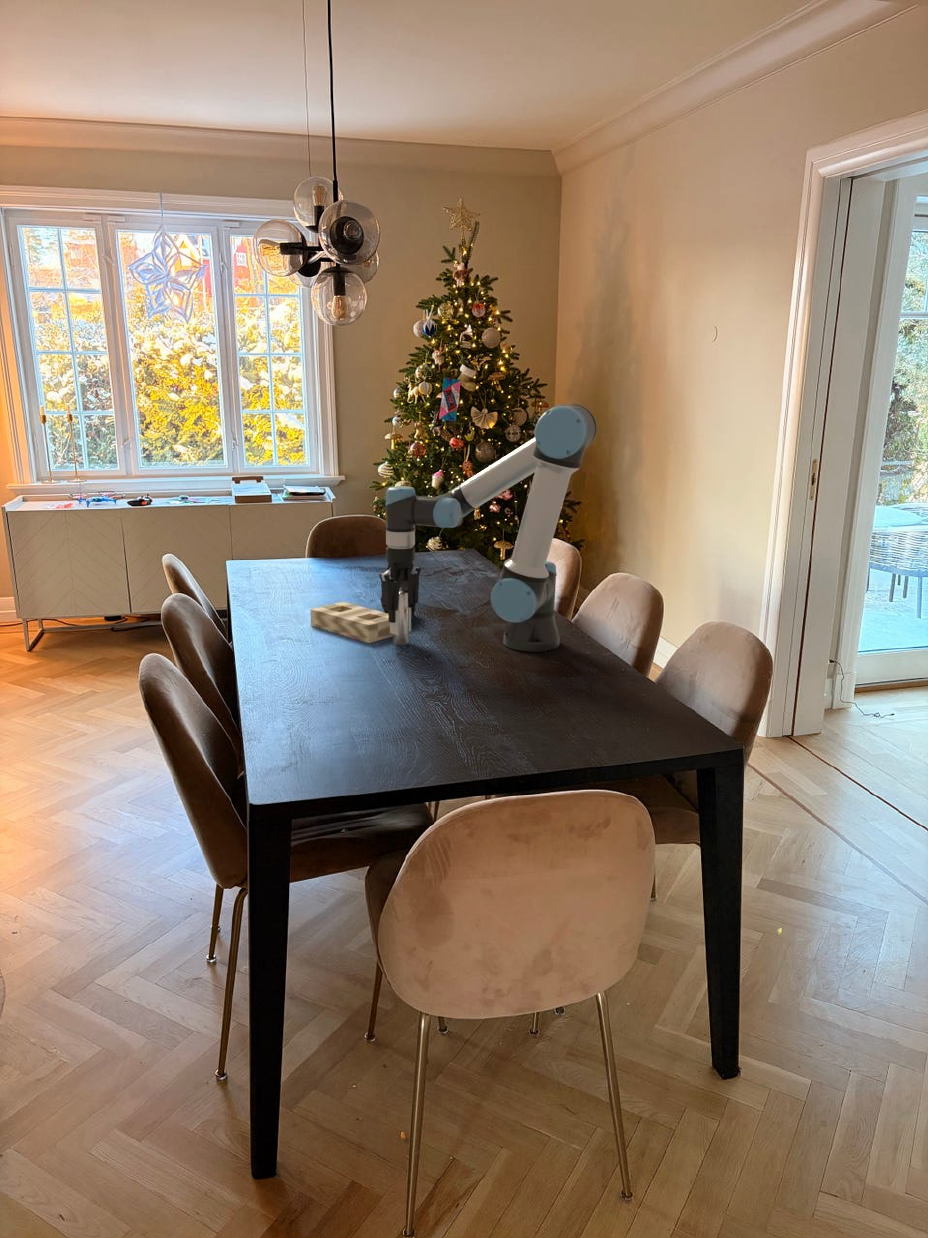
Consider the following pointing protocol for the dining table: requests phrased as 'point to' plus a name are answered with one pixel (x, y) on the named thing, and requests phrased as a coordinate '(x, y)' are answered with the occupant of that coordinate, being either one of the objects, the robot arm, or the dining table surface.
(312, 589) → the dining table surface
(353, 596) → the dining table surface
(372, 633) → the hole block
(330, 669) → the dining table surface
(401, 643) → the steel pin
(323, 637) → the dining table surface
